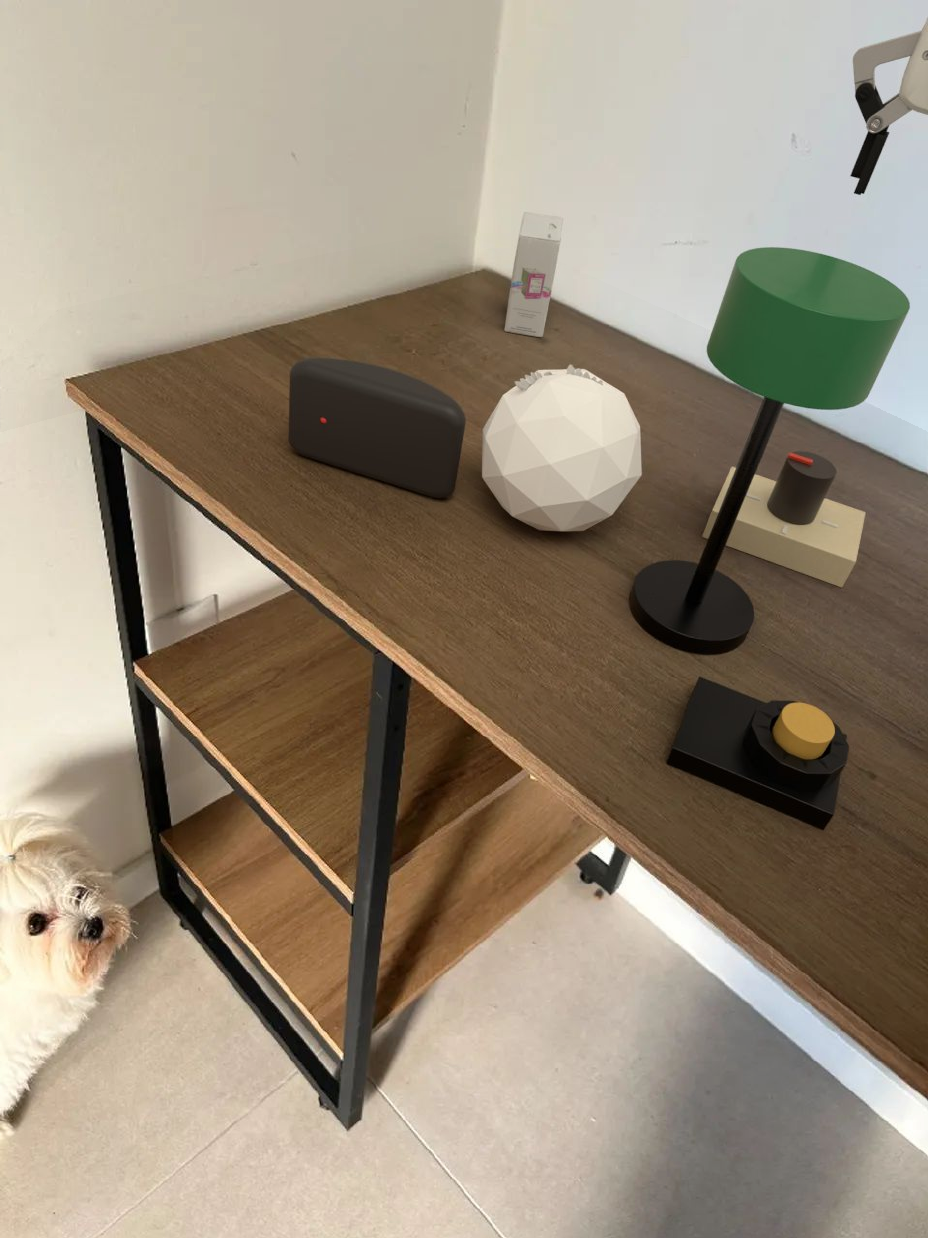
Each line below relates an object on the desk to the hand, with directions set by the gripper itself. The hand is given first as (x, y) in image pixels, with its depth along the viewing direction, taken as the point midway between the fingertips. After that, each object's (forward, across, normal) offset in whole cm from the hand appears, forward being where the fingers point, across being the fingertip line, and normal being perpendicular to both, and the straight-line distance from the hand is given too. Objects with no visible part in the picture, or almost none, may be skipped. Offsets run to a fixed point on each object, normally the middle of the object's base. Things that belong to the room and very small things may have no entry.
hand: (925, 208), depth 68 cm
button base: (+30, -3, +30) cm, 42 cm away
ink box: (+31, +37, -28) cm, 55 cm away
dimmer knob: (+27, 0, 0) cm, 27 cm away
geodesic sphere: (+30, +20, +10) cm, 37 cm away
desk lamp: (+30, +5, +16) cm, 34 cm away
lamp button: (+26, -5, +29) cm, 40 cm away
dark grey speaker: (+30, +36, +14) cm, 49 cm away
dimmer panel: (+30, 0, 0) cm, 30 cm away
